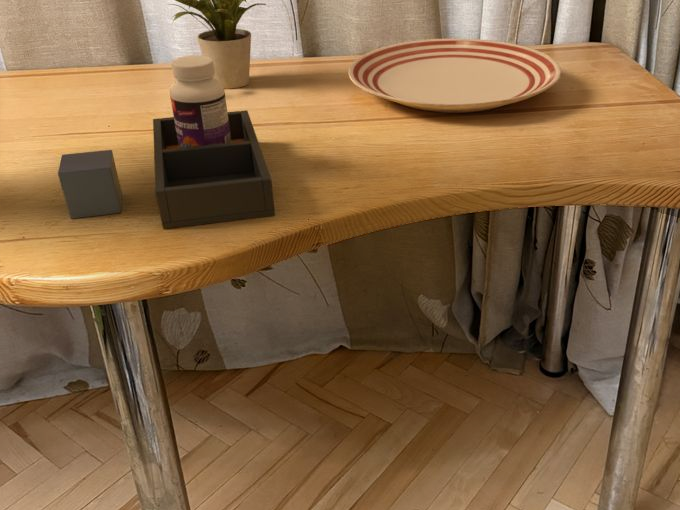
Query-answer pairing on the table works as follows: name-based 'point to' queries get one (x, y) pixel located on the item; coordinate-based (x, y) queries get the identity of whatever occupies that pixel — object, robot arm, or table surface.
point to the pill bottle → (198, 103)
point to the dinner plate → (454, 74)
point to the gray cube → (90, 184)
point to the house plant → (224, 39)
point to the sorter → (211, 176)
